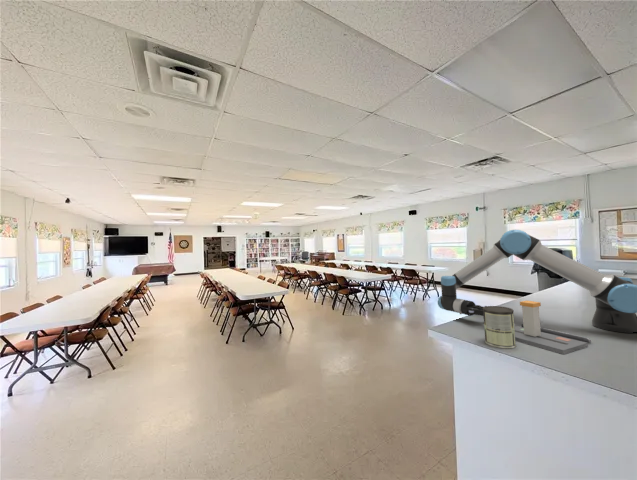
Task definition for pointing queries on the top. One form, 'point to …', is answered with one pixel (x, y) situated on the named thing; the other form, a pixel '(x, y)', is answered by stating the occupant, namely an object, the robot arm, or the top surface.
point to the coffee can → (499, 326)
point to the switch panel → (549, 341)
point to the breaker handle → (531, 318)
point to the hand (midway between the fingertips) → (512, 317)
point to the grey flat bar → (564, 335)
